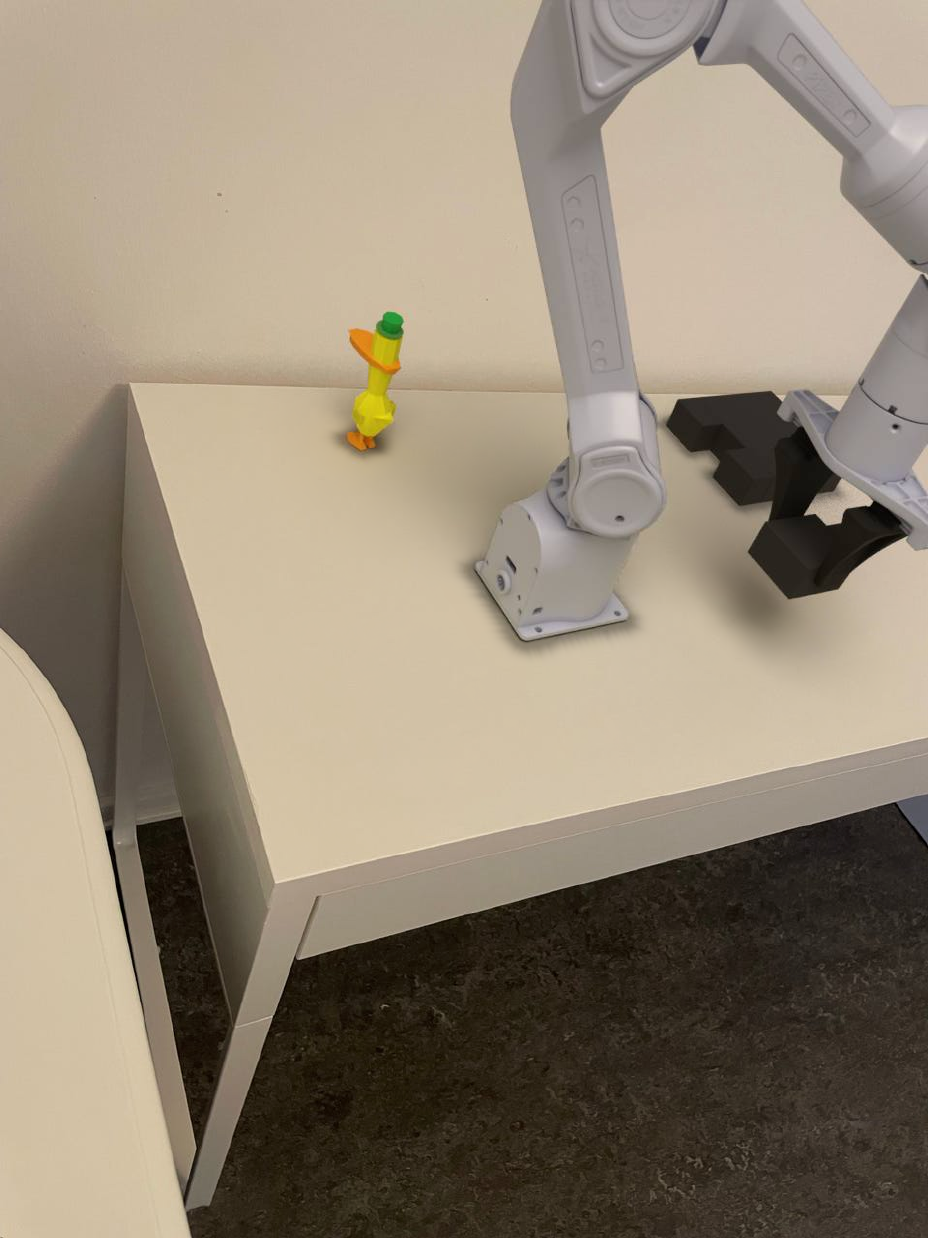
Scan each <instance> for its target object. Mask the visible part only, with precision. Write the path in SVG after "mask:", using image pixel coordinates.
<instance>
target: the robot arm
mask: <svg viewBox="0 0 928 1238" xmlns="http://www.w3.org/2000/svg"><path fill="white" fill-rule="evenodd" d="M691 47H692V49H693V53H694V56H695V59H696V62H697V65H698V66H703V67H710V66H711V67H712V66H726V65H727V66H729V65H730V66H731V65H747V66H748V67H750V68H751V69H753V70H754V71H755V72H756V73H757V74H758V75H759V76H760V77H761V78H762V79H763V80H764V81H765V82H766V83H767V84H768V85H769V86H770V87H771V88H773V90H774V91H775V92H776V93H777V94H778V95H779V96H780V97H781V98H782V99H783V100H784V101H786V102H787V103H788V104H789V105H790V106H791V107H792V108H793V110H794V111H796V112H797V113H798V114H799V116H801V117H802V118H803V119H804V120H805V121H806V122H807V123H808V124H809V125H810V126H811V127H812V128H813V129H815V130H816V131H817V133H818V134H819V135H821V136H822V138H823V139H825V141H827V142H828V143H829V144H830V146H831V147H833V148H834V149H835V151H837V153H839V154H840V155H841V156H842V163H841V171H840V176H839V191H840V193H841V197H843V198H844V200H846V202H848V203H849V204H850V206H852V207H853V208H854V209H855V210H856V211H857V213H859V215H861V217H862V218H863V219H864V220H865V221H866V222H867V223H868V224H869V225H870V226H871V227H872V228H873V229H874V230H875V231H876V232H877V233H878V234H879V236H881V237H882V239H883V240H884V241H886V242H887V244H888V245H889V246H890V247H891V248H892V249H893V250H894V251H895V252H896V253H897V254H898V255H899V256H900V257H901V258H902V259H903V260H904V261H905V262H906V263H907V264H908V265H909V266H910V268H912V269H914V270H916V271H918V272H920V274H919V276H918V277H917V279H916V281H915V283H914V285H912V288H911V289H910V291H909V293H908V294H907V296H906V298H905V299H904V302H903V303H902V305H901V306H900V308H899V310H898V311H897V313H896V314H895V316H894V317H893V320H892V321H891V323H890V325H889V326H888V328H887V330H886V331H885V333H884V335H883V336H882V338H881V340H880V342H879V343H878V346H876V349H875V350H874V351H873V354H872V355H871V357H870V359H869V361H868V362H867V364H866V366H865V367H864V369H863V371H862V373H861V374H860V376H859V378H858V379H857V381H856V383H855V385H853V388H852V389H851V391H850V393H849V394H848V396H847V398H846V399H845V401H844V403H843V405H842V406H841V408H840V410H838V409H836V408H835V407H833V406H832V405H830V404H829V403H827V402H826V401H824V400H823V399H822V398H820V397H819V396H818V395H817V394H815V393H814V392H813V391H812V390H811V389H809V388H805V389H793V390H788V391H787V393H786V394H785V397H784V398H783V400H782V404H781V406H780V408H779V410H778V411H777V414H778V415H779V416H780V417H781V418H782V419H783V420H784V421H786V422H790V421H792V422H793V423H794V424H796V425H797V426H798V428H797V430H796V432H795V434H794V433H793V434H792V435H791V437H786V438H780V439H779V440H778V442H777V443H776V445H775V447H774V453H775V460H776V483H775V492H774V498H773V500H772V504H771V508H770V512H769V516H768V520H767V521H772V520H778V519H784V518H791V517H797V516H803V515H806V513H807V511H808V510H809V508H810V506H811V505H812V503H813V501H814V500H815V498H816V497H817V495H818V494H819V493H818V492H819V491H820V490H821V488H822V487H823V486H824V484H825V483H826V482H827V481H828V480H829V478H830V477H831V476H832V475H833V474H834V473H835V474H837V475H838V476H839V477H841V478H842V479H841V480H843V481H846V483H847V484H850V485H851V486H853V487H854V488H856V489H857V490H859V491H860V492H862V493H863V494H865V495H866V496H867V497H868V498H869V499H871V501H872V502H871V504H870V505H866V504H865V505H860V506H854V507H847V508H845V510H844V511H843V512H842V518H841V522H840V523H841V526H840V529H839V532H838V535H837V537H836V540H835V542H834V544H833V546H832V548H831V550H830V552H829V553H828V555H827V556H826V558H825V560H824V561H823V563H822V564H821V566H820V568H819V570H818V572H817V574H816V577H815V579H814V582H813V583H814V584H815V585H816V586H817V587H818V588H825V587H830V586H835V585H838V584H839V583H840V582H841V581H842V580H843V579H844V578H845V577H847V576H848V577H849V575H850V574H851V573H853V571H855V570H856V569H857V568H858V567H859V566H861V565H862V564H863V563H865V562H866V561H867V560H869V559H870V558H872V557H873V556H874V555H877V554H878V553H879V552H881V551H882V550H884V549H886V548H887V547H890V546H891V545H893V544H895V543H897V542H899V541H901V540H903V539H905V538H906V539H905V541H906V543H907V544H908V545H909V546H910V547H911V548H912V549H913V550H914V551H915V552H917V551H925V550H928V491H927V489H926V488H925V486H924V485H923V483H922V482H921V481H920V478H919V477H918V475H917V474H916V473H915V471H914V469H913V467H914V465H915V464H916V462H917V461H918V459H919V458H920V457H921V455H922V453H923V452H924V450H925V449H926V448H927V446H928V278H927V277H926V275H927V276H928V104H905V105H903V104H902V105H893V104H889V102H888V100H886V98H884V96H883V95H882V94H881V93H880V92H879V90H878V89H877V87H876V86H875V85H873V83H872V82H871V81H870V79H869V78H868V77H867V76H866V74H865V73H864V72H863V71H862V70H861V69H860V67H859V66H858V64H857V63H856V62H855V61H854V60H853V59H852V57H851V56H850V55H849V54H848V53H847V52H846V51H845V49H844V48H843V47H842V46H841V44H840V43H839V42H838V41H837V40H836V38H835V37H834V36H833V34H831V32H830V31H829V30H828V29H827V28H826V26H825V25H824V24H823V22H822V21H820V19H819V18H818V17H817V15H816V14H815V13H814V12H813V10H812V9H811V8H810V7H809V6H808V4H807V3H806V2H805V1H804V0H541V2H540V5H539V8H538V11H537V14H536V17H535V19H534V21H533V24H532V27H531V29H530V32H529V35H528V38H527V40H526V43H525V45H524V48H523V51H522V54H521V57H520V59H519V61H518V64H517V67H516V70H515V72H514V75H513V78H512V82H511V89H510V100H509V104H510V105H509V107H510V115H509V116H510V121H511V126H512V130H513V131H512V132H513V137H514V141H515V146H516V152H517V157H518V162H519V167H520V172H521V177H522V182H523V186H524V193H525V197H526V202H527V207H528V211H529V212H528V213H529V217H530V222H531V227H532V231H533V237H534V243H535V248H536V253H537V258H538V262H539V268H540V273H541V276H542V282H543V287H544V292H545V298H546V303H547V308H548V313H549V318H550V323H551V327H552V328H551V329H552V332H553V338H554V342H555V348H556V353H557V358H558V363H559V368H560V373H561V379H562V384H563V387H564V393H565V399H566V407H567V419H566V434H567V439H568V456H566V457H565V458H564V459H563V460H562V462H561V463H559V464H558V466H556V468H555V470H554V471H553V472H552V473H551V475H550V477H549V480H548V482H547V483H546V484H545V485H544V486H543V487H542V488H541V489H539V490H537V491H536V492H535V493H534V494H532V495H530V496H527V497H525V498H523V499H521V500H518V501H514V502H511V503H509V504H507V505H506V506H505V507H504V508H503V509H502V510H501V512H500V514H499V516H498V518H497V522H496V524H495V528H494V531H493V534H492V536H491V539H490V542H489V545H488V548H487V552H486V555H485V557H484V560H479V561H477V562H476V563H475V565H474V570H475V571H476V572H477V574H478V575H479V577H480V579H481V580H482V581H483V583H484V585H485V586H486V588H487V589H488V591H489V592H490V594H491V596H492V597H493V598H494V600H495V602H496V603H497V604H498V606H499V608H500V610H501V611H502V613H504V615H505V617H506V618H507V620H508V622H509V623H510V625H511V626H512V627H513V629H514V631H515V632H516V633H517V635H518V636H519V638H520V639H521V640H523V641H534V640H538V639H543V638H546V637H547V638H548V637H552V636H556V635H562V634H566V633H571V632H575V631H579V630H584V629H585V630H586V629H589V628H594V627H599V626H603V625H608V624H613V623H618V622H623V621H626V620H628V618H629V616H630V614H629V611H628V610H627V608H626V607H625V606H624V604H623V603H622V601H621V600H620V598H618V596H617V595H616V594H615V592H614V590H615V587H616V586H617V585H616V584H617V583H618V580H619V578H620V576H621V574H622V573H623V571H624V568H625V565H626V563H627V561H628V559H629V557H630V555H631V553H632V551H633V549H634V546H635V545H636V542H637V540H638V538H639V536H640V534H641V533H642V532H644V531H646V530H647V529H649V528H650V527H652V526H653V525H654V524H655V523H656V522H657V521H658V520H659V518H660V517H661V516H662V514H663V512H664V510H665V507H666V503H667V496H668V493H667V487H666V484H665V480H664V478H663V474H662V473H663V472H662V463H661V457H660V448H659V447H660V446H659V440H658V428H659V419H658V414H657V410H656V408H655V406H654V405H653V403H652V401H651V400H650V399H649V398H648V397H647V396H646V395H645V393H644V392H643V390H642V388H641V386H640V383H639V380H638V372H637V366H636V363H635V359H634V357H635V356H634V351H633V344H632V337H631V330H630V323H629V316H628V309H627V303H626V294H625V289H624V281H623V275H622V274H623V273H622V267H621V260H620V254H619V248H618V240H617V239H618V238H617V233H616V227H615V226H616V225H615V219H614V213H613V205H612V197H611V192H610V184H609V177H608V170H607V163H606V157H605V150H604V143H603V135H602V127H603V126H604V124H605V123H606V122H607V120H608V119H609V118H610V117H611V115H612V114H613V113H614V112H615V111H616V109H617V108H618V107H619V106H620V105H621V103H622V102H623V101H624V99H625V98H626V97H627V96H628V94H629V93H630V92H631V91H632V89H633V88H634V87H635V86H637V85H638V84H640V83H642V82H643V81H644V80H646V79H647V78H649V77H650V76H652V75H654V74H655V73H657V72H659V70H662V69H663V68H664V67H666V66H667V65H669V64H671V63H672V62H674V61H675V60H676V59H678V58H679V57H680V56H681V55H683V54H684V53H685V52H686V51H687V50H689V49H690V48H691ZM848 577H847V578H848Z"/></svg>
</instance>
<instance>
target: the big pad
mask: <svg viewBox="0 0 928 1238" xmlns="http://www.w3.org/2000/svg"><path fill="white" fill-rule="evenodd" d="M782 402H783V400H781V398H779V397H778V396H777V395H776V394H775V393H774V392H773V390H765V391H764V390H763V391H754V392H753V391H751V392H741V393H731V394H719V395H708V396H707V395H706V396H698V397H696V396H695V397H687V398H677V400H676V402H675V404H674V407H673V409H672V411H671V413H670V415H669V417H668V420H667V422H666V427H667V428H668V429H669V431H671V432H672V434H673V435H674V436H675V437H676V438H677V439H678V441H680V442H681V443H682V444H683V446H685V448H686V449H687V450H688V451H689V452H690V453H692V452H699V451H700V452H701V451H707V450H709V451H711V453H712V454H714V455H715V456H716V458H717V459H718V460H719V461H720V462H719V464H718V465H717V467H716V469H715V472H714V474H713V475H712V477H713V478H714V479H715V480H716V481H717V483H719V485H720V486H721V487H722V488H723V489H724V490H725V491H726V492H727V494H728V495H729V496H730V497H731V498H732V499H733V501H735V503H737V504H738V505H739V506H744V505H752V504H758V503H765V502H773V498H774V492H775V483H776V460H775V453H774V447H775V445H776V443H777V442H778V440H779V439H780V438H786V437H791V435H792V434H793V433H794V434H795V432H796V430H797V428H798V426H797V425H796V424H794V423H793V422H792V421H790V422H786V421H784V420H783V419H782V418H781V417H780V416H779V415H778V414H777V411H778V410H779V408H780V406H781V404H782ZM842 480H843V479H842V478H841V477H839V476H838V475H837V474H835V473H834V474H833V475H832V476H831V477H830V478H829V480H828V481H827V482H826V483H825V484H824V486H823V487H822V488H821V490H820V491H819V492H818V493H817V494H821V493H822V494H823V493H828V492H834V491H836V488H837V487H838V486H839V484H840V482H841V481H842Z"/></svg>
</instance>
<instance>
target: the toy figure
mask: <svg viewBox="0 0 928 1238" xmlns="http://www.w3.org/2000/svg"><path fill="white" fill-rule="evenodd" d="M404 323H405V321H404V318H403V316H402V315H400V313H397V312H395V311H386V312H385V313H383V314H382V319H380V320H379V321H377V323H376V325H375V329H374V331H373V332H374V333H372V331H370V330H366V329H362V328H357V327H355V328H350V329H348V330H347V331H348V333H349V343H350V344H351V346H352V348H353V349H354V350H355V351H356V352H357V354H358V355H359V356H360V357H361V358H362V359H363V360H365V361H366V362H367V363H368V370H367V388H366V390H364V391H363V392H361V393H360V394H359V395H358V396H356V397H355V398H354V402H353V407H352V412H351V413H350V416H351V418H352V419H353V421H354V424H355V426H356V427H357V431H356V432H355V431H349V432H347V433H346V439H347V441H348V442H349V444H351V445H352V446H353V447H355V448H356V449H358V450H360V451H361V452H362V451H365V450H367V447H368V448H369V449H372V448H376V443H375V440H374V437H375V436H377V435H378V434H379V433H381V432H382V431H383V430H384V429H385V428H387V427H388V426H389V425H390V424H392V423H393V422H394V421H395V419H394V418H393V417H394V415H395V412H396V410H397V406H396V404H395V402H394V401H393V399H392V400H390V398H389V397H388V394H387V391H388V389H389V386H390V384H391V381H392V378H393V375H396V374H397V373H398V372H399V371H400V370H401V369H402V365H401V362H400V358H399V356H400V351H401V346H402V343H403V337H404V333H405V330H404V328H403V327H402V326H403V324H404Z"/></svg>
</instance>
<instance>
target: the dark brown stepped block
mask: <svg viewBox="0 0 928 1238" xmlns="http://www.w3.org/2000/svg"><path fill="white" fill-rule="evenodd" d="M840 526H841V522H839V523H838V522H837V523H832V524H827V523H825V522H824V521H823V520H822V519H821V517H819V516H818V515H817V513H810V514H804V515H803V516H797V517H791V518H784V519H778V520H772V521H768V520H766V521H764V522H763V524H762V526H761V528H760V530H759V531H758V533H757V535H756V536H755V538H754V540H753V541H752V543H751V545H750V547H749V549H748V550H747V554H748V555H749V556H750V558H752V560H754V562H755V563H756V564H757V566H758V567H759V568H760V569H761V570H762V571H763V572H764V573H765V575H766V576H767V577H768V578H769V579H770V581H772V582H773V584H774V585H775V586H776V587H777V588H778V590H779V591H780V592H781V593H782V594H783V595H784V596H785V597H786V599H787V600H788V601H789V600H795V599H800V598H804V597H809V596H813V595H819V594H823V593H828V592H834V591H837V590H840V588H841V587H842V586H843V584H844V583H845V581H846V579H847V578H848V577H849V575H848V576H847V577H845V578H844V579H843V580H842V581H841V582H840V583H839V584H838V585H835V586H830V587H825V588H818V587H817V586H816V585H815V584H814V583H813V582H814V579H815V577H816V574H817V572H818V570H819V568H820V566H821V564H822V563H823V561H824V560H825V558H826V556H827V555H828V553H829V552H830V550H831V548H832V546H833V544H834V542H835V540H836V537H837V535H838V532H839V529H840Z"/></svg>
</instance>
